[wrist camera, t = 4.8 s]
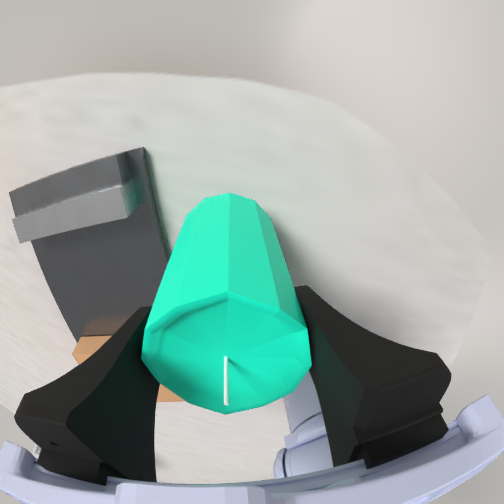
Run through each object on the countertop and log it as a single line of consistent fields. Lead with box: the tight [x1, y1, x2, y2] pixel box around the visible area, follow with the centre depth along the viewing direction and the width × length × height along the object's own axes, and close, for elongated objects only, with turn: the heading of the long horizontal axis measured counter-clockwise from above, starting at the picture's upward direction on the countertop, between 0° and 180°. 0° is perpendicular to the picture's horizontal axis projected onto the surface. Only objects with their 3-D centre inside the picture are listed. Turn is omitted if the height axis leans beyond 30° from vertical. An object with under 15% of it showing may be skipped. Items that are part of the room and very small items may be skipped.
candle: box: [141, 193, 312, 414], centre depth 13 cm, size 6×6×12 cm
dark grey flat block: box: [9, 147, 169, 343], centre depth 21 cm, size 23×12×4 cm, turn 7°
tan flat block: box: [72, 335, 185, 402], centre depth 24 cm, size 7×10×2 cm
